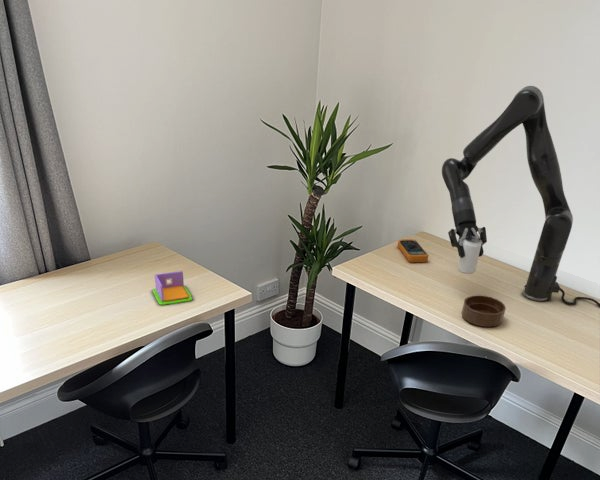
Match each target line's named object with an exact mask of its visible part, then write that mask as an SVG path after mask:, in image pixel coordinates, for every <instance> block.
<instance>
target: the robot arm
mask: <svg viewBox="0 0 600 480" xmlns="http://www.w3.org/2000/svg"><path fill="white" fill-rule="evenodd" d="M545 108H546V106H545V99H544V95H543V92H542V91H541V90H540V89H539V88H538V87H537V86H535V85H527V86H524V87H523V88H521V89H520V90H519V91H518V92H517V93H515V95H514V97H513V99H512V100H511V101H510V103H509V104H508V105H507V107H506V108H505V109H504V110H503V112H501V114H500V115H499V116H498V117H497V118H496V119H495V120H494V121H493V122H491V124H490V125H488V126H487V127H486V128H485V129H483V130H482V131H481V132H479V134H478V135H476V136H475V138H473V139H472V140H471V141H470V142H469V143H468V144H467V145H465V147H464V149H463V151H462V154H463V158H462V159H461V160H459V159H456V158H453V157H450V158H447V159H445V161H444V162H443V163H442V166H441V177H442V179H443V182H444V184H445V186H446V188H447V190H448V192H449V193H448V194H449V196H450V197H449V198H450V204H451V213H452V218H453V223H454V227H455V229H454V228H450V230H449V231H448V232H447V234H448V237H449V241H450V245H451V247H452V248H456V249H457V254H458V257H459V258H463V257H465V252H464V247H463V246H462V245H463V242H464V240H465V237H467V236H468V237H467V238H469V237H471V236H474V237H478V238H480V239H481V248H480V253H479V257H483V255H484V253H485V252H484V248H483V246H484V245H485V244H486V243H487V242H488V239H487V229H486V227H485V226H482V227H478V225H477V218H476V213H475V207H474V203H473V200H472V196H471V191H470V187H469V185H468V184H467V183H466V182H465V181H464V180H466V179H467V178H468V177H470V175H471V174H472V172H473V171H474V169H475V168H476V166H477V165H478V163H479V162H480V161H482V159H483V158H485V157H486V156H487V155H488V154H489V153H490V152H491V151H492V150H493V149H494V148H495V147H496V146H497V145H498V144H499V143H500V142H501V141H502V140H503V139H504V138H505V137H507V135H509V134H510V133H511V132H512V131H513V130H515V129H516V128H517V127H519V126H520V125H522V127H523V129H524V134H525V141H526V142H525V145H526V146H525V148H526V159H527V164H528V167H529V172H530V175H531V179H532V181H533V184H534V186H535V188H536V189H537V192H538V194H539V195H540V197H541V200H542V203H543V209H544V217H545V219H544V223H543V225H542V228H541V229H542V230H541V233H540V235H539V236H540V237H539V240H538V243H537V246H536V250H535V253H534V257H533V259H532V263H531V266H530V270H529V273H528V277H527V280H526V284H525V285H524V286H523V292H522V294H523V296H524V297H525V298H527V299H528V300H531V301H536V302H546V301H550V300H551V298H552V294H553V293H555V294H556V293H559V292H561V297H560V298H561V301H562V303H564V304H566V305H571V306H573V305H574V306H575V305H576V304H577V300H586V301H591V302H592V303H594V304H596V305H597V306H598V307H599V308H600V302H599V301H598V300H596V299H594V298H591V297H587V296H576V297H574V298H573V302H572V301H568V300H566V299H565V298H564V297H565V294H566V292H565V290H563V289H562V288H561V286H560V284H559V282H558V281H557V279H558V276H557V272H558V269H559V266H560V264H561V261H562V257H563V255H564V252H565V249H566V246H567V244H568V240H569V237H570V234H571V231H572V228H573V222H574V217H573V213H572V211H571V209H570V206H569V203H568V200H567V198H566V195H565V190H564V185H563V178H562V172H561V168H560V163H559V159H558V154H557V151H556V147H555V145H554V141H553V137H552V135H551V131H550V129H549V126H548V121H547V114H546V109H545ZM457 236H458V238H457ZM479 257H478V258H479Z"/></svg>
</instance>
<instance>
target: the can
mask: <svg viewBox="0 0 600 480" xmlns="http://www.w3.org/2000/svg"><path fill="white" fill-rule="evenodd" d="M467 237H468V236H467ZM467 237H465V240H464V242H463V245H462V246H463V247H464V252H465V257H463V258H460V257H459V259H458V263H457V270H458V271H459V272H460V273H461V274H465V275H471V274H474V273H475V272H476V269H477V265H478V261H479V253H480V248H481V239H480V238H478V237H474V236H471V237H469V238H467Z"/></svg>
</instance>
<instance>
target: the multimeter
mask: <svg viewBox="0 0 600 480" xmlns="http://www.w3.org/2000/svg"><path fill="white" fill-rule="evenodd" d="M397 248H398V249H399V251H401V253H402V254H403V255H404V256H405V258H406V260H407V261H408V262H409V263H426V262H428V259H429V254H428V253H427V252H426V251H425V249H424V248H423V247H422V246H421V244H420V243H419V242H418V240H416V239H412V238H402V239H401V238H400V239H399V240H397Z"/></svg>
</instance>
